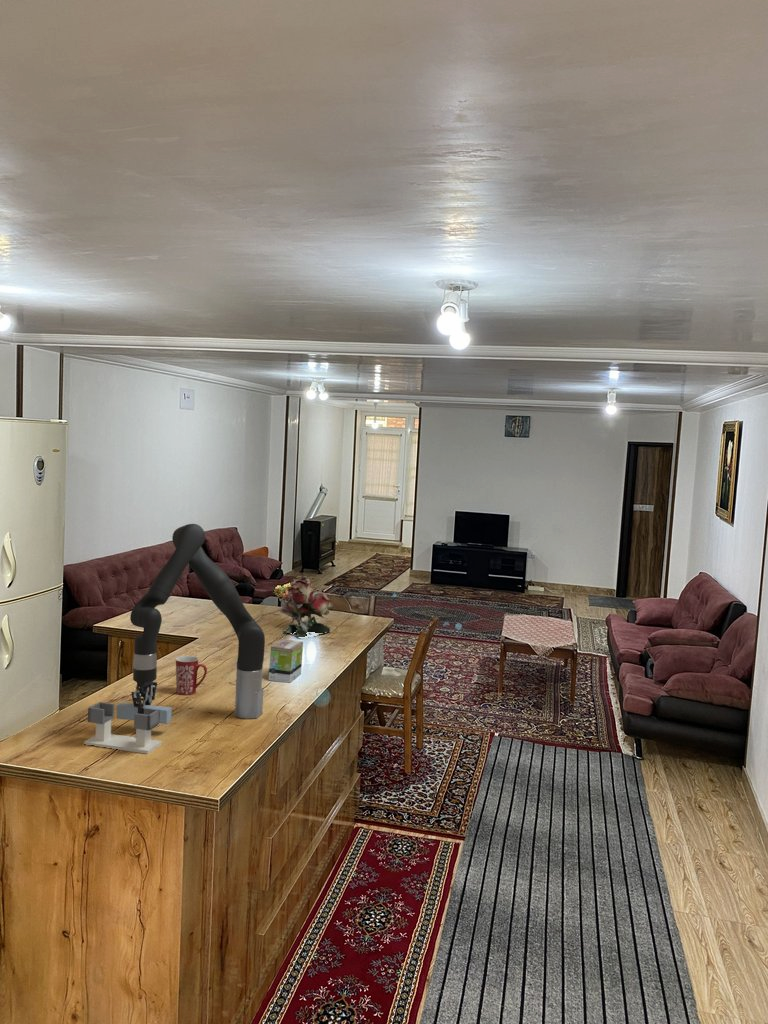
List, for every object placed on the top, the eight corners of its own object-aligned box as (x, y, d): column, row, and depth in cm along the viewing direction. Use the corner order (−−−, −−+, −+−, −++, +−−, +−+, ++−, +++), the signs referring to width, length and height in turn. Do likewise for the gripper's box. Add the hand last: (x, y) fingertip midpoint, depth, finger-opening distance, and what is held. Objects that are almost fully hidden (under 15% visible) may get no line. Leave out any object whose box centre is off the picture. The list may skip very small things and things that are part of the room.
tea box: (290, 683, 332) (292, 648, 331) (267, 680, 334) (269, 646, 333) (301, 674, 346) (303, 640, 345) (279, 671, 348) (281, 638, 347)
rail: (171, 720, 268) (171, 707, 268) (166, 723, 265) (166, 710, 264) (122, 715, 271) (122, 702, 271) (116, 718, 268) (116, 705, 268)
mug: (169, 694, 308) (171, 660, 307) (180, 688, 317) (181, 654, 316) (200, 698, 305) (201, 663, 304) (210, 691, 314) (211, 658, 313)
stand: (161, 744, 257) (162, 708, 256) (147, 753, 248) (149, 717, 247) (99, 735, 261) (100, 700, 260) (83, 744, 252) (84, 709, 252)
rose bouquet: (337, 631, 433) (340, 576, 431) (304, 640, 408) (306, 582, 406) (299, 623, 447) (302, 570, 444) (265, 632, 422) (268, 575, 420)
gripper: (145, 672, 259) (144, 724, 260) (165, 661, 273) (164, 711, 274) (123, 670, 260) (123, 722, 262) (144, 659, 274) (144, 708, 275)
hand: (144, 716), depth 268 cm, fingers closed on rail, 3 cm apart
